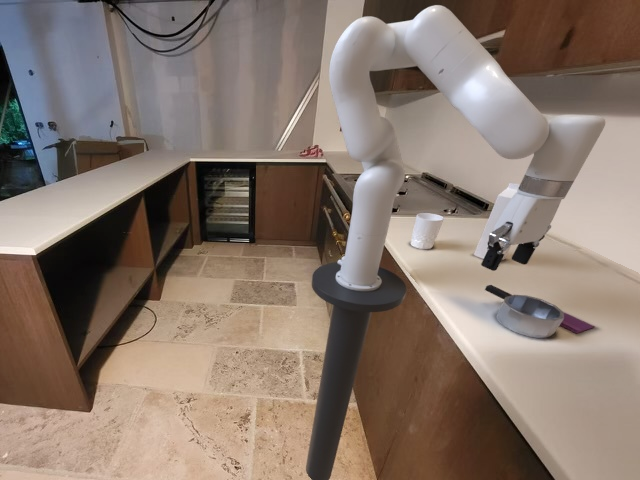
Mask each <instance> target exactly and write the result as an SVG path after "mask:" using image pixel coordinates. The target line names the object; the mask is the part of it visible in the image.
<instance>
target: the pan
mask: <svg viewBox="0 0 640 480" xmlns="http://www.w3.org/2000/svg"><path fill="white" fill-rule="evenodd" d="M484 291H486V292H488V293H490V294H491V295H494V296H496V297H498V298H499V299H502V300H503V301H502V303H501V305H500V307H499V309H498V311H497V314H496V320H497V321H498V322H499V323H500V325H502V326H503V327H505V328H506V329H507V330H510V331H511V332H513V333H516V334H519V335H522V336H525V337H530V338H537V339H545V338H546V339H547V338H549V337H552V336H553V335H554V334H555V333H556V332H557V330H558V329H559V327H560V324H561V322H562V321H563V319H564V313H565V312H564V311H563V310H562V309H561V308H559V307H558V306H557V305H556V304H553V303H551V302H549V301H546V300H544V299H543V298H539V297H534V296H531V295H526V294H525V295H524V294H512V293H510V292H507V291H506V290H503V289H501V288H499V287H497V286H495V285H493V284H487V285H486V286H485V288H484Z"/></svg>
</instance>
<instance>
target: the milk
mask: <svg viewBox="0 0 640 480" xmlns="http://www.w3.org/2000/svg"><path fill="white" fill-rule="evenodd" d="M520 184H521V183H515V182H509V183H508V186H507V187H506V188H505V189H504V190H502V191H501V192H500V193H498V195H497V197H496V199H495V202H494V204H493V207H492V210H491V212H490V214H489V216H488V219H487V222H486V223H485V226H484V229H483V231H482V233H481V236H480V239H479V240H478V243H477V246H476V248H475V251H474V253H473V256H475V257H477V258H479V259H482V260H483V259H484V257H485V255H486V253H487V251H488V249H487V247H488V242H489V235H490V233H492V232H493V230H494V228H495V226H496V224H497V222H498V220H499V218H500V217H501V215H502V213H503V211H504V210H505V208H506V206H507V205H508V203H509V202H510V200H511V199H512V197H513V196H514V195H515V193H517V190H518V188H519V186H520ZM503 238H505V237H503ZM505 239H507V238H505ZM508 240H510V239H508ZM499 243H500V246H501V247H502V246H503V245H504V243H502V242H499ZM511 247H512V245H510V246H509V247H508V248H507V249H506V250H505V251H504V252H503V253H502V254H504V256H503V258H502V260H501V261H503V260H505V259H506V258H507V256H508V254H509V251H510V249H511Z"/></svg>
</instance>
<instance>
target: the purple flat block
mask: <svg viewBox="0 0 640 480" xmlns="http://www.w3.org/2000/svg"><path fill="white" fill-rule="evenodd" d="M559 327H562V328H564V329H566V330H568V331H570V332H571V333H574V334H580V333H582V332H585V331H588V330H591V329H594V328H595V325H592V324H590V323H588V322H585V321H583V320H581V319H580V318H577V317H575V316H573V315H570V314H568V313H566V312H564V319H563V321H562V322H561V324H560V325H559Z"/></svg>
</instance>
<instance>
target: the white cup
mask: <svg viewBox="0 0 640 480" xmlns="http://www.w3.org/2000/svg"><path fill="white" fill-rule="evenodd" d="M444 220H445V218H444V217H443V216H442V215H439V214H437V213H432V212H431V213H429V212H420V213H416V217H415V221H414V223H413V224H414V225H413V228H412V234H411V240H410V245H411V246H412V247H414V248H416V249H420V250H431V249H432V248H433V247H434V245H435V241H436V240H437V238H438V235H439V232H440V231H441V228H442V225H443V222H444Z"/></svg>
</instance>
